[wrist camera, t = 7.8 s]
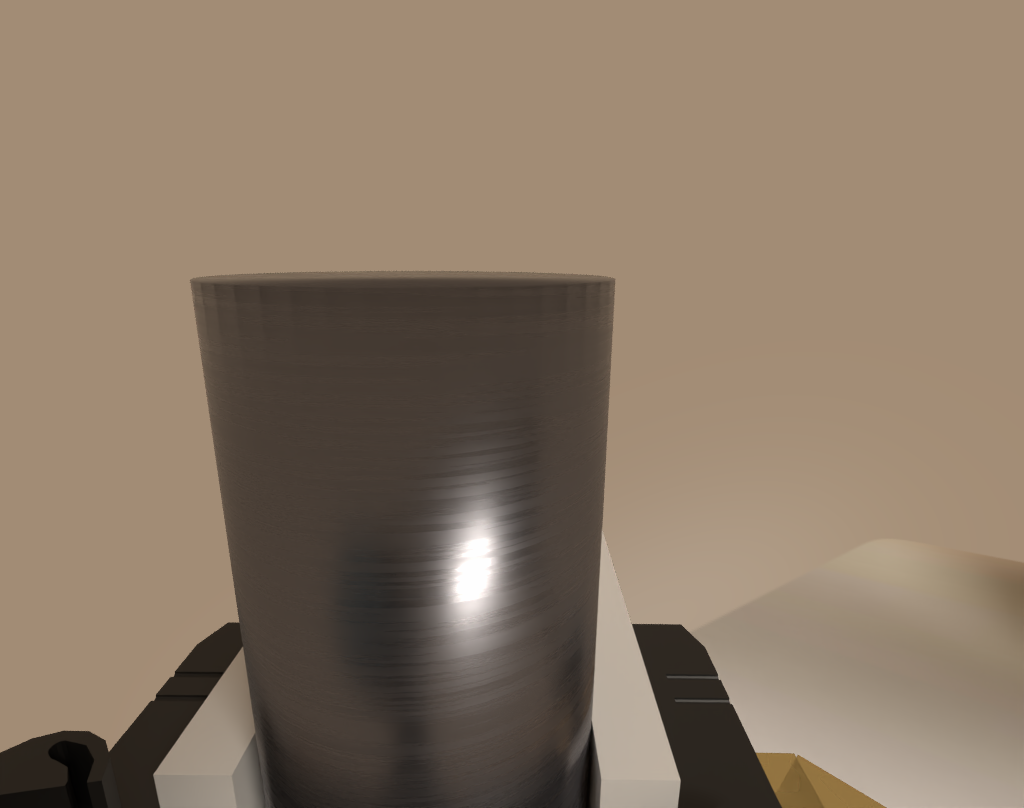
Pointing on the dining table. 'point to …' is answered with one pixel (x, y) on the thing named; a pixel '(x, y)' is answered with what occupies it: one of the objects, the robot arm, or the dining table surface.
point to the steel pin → (414, 527)
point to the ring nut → (809, 784)
